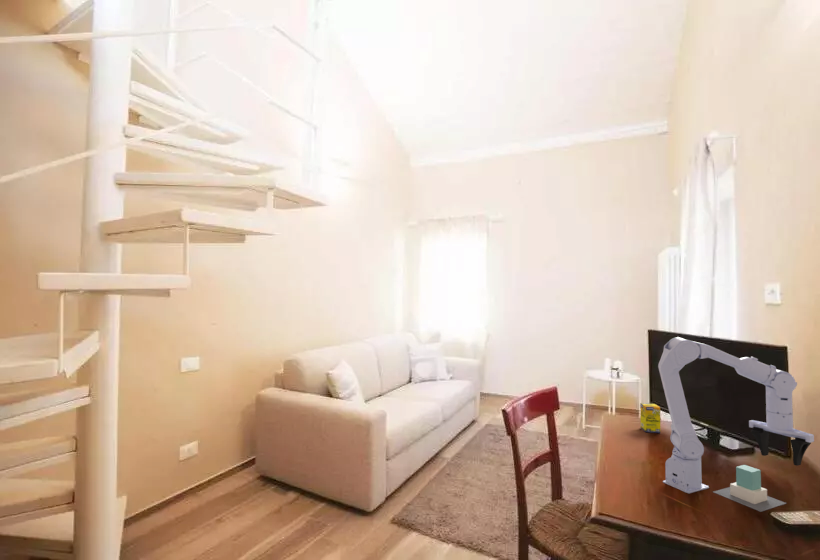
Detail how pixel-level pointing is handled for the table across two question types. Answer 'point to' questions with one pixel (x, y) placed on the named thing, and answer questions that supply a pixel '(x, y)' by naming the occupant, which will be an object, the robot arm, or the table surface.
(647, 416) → the supplement box
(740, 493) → the cream slab
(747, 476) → the teal block
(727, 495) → the grey flat square plate
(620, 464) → the table surface
